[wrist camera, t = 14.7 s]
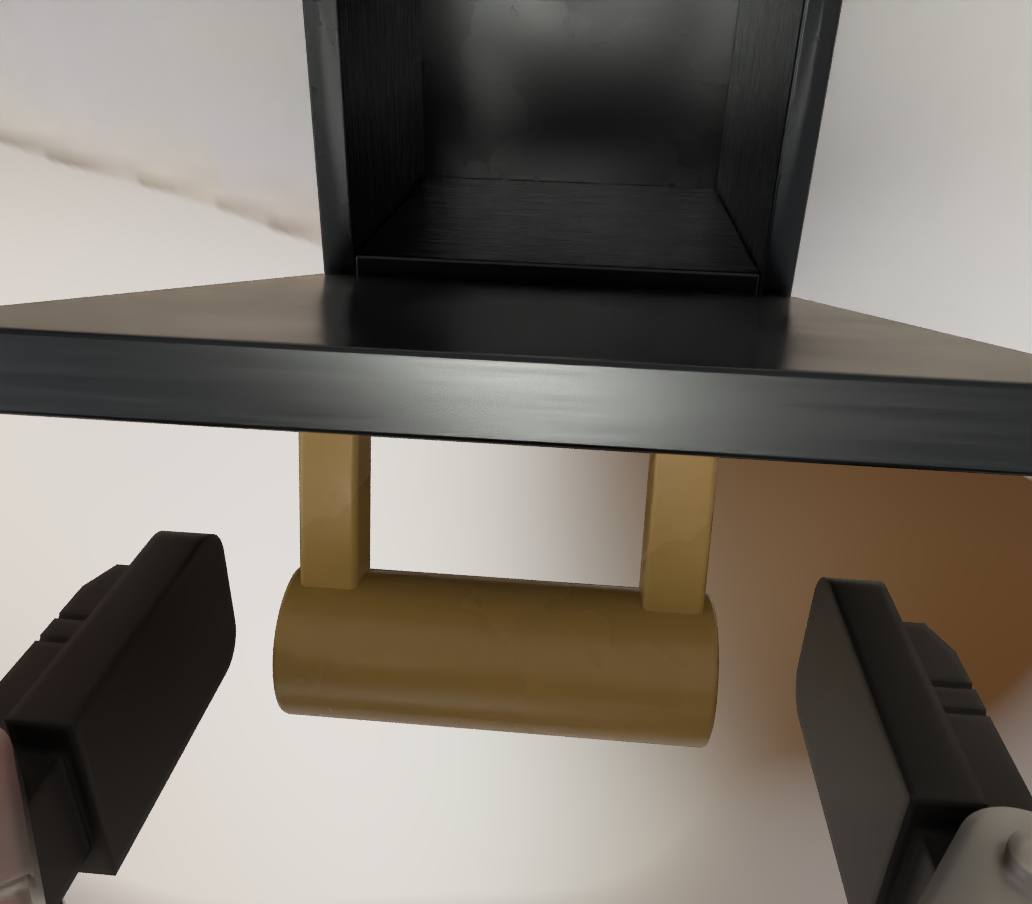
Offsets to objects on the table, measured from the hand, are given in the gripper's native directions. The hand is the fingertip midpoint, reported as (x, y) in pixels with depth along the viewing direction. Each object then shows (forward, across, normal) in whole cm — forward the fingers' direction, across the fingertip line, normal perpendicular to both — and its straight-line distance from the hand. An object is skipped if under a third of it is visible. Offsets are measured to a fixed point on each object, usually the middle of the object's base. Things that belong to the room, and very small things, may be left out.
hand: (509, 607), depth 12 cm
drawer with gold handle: (+4, 0, -3) cm, 5 cm away
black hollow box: (+22, 0, -7) cm, 24 cm away
